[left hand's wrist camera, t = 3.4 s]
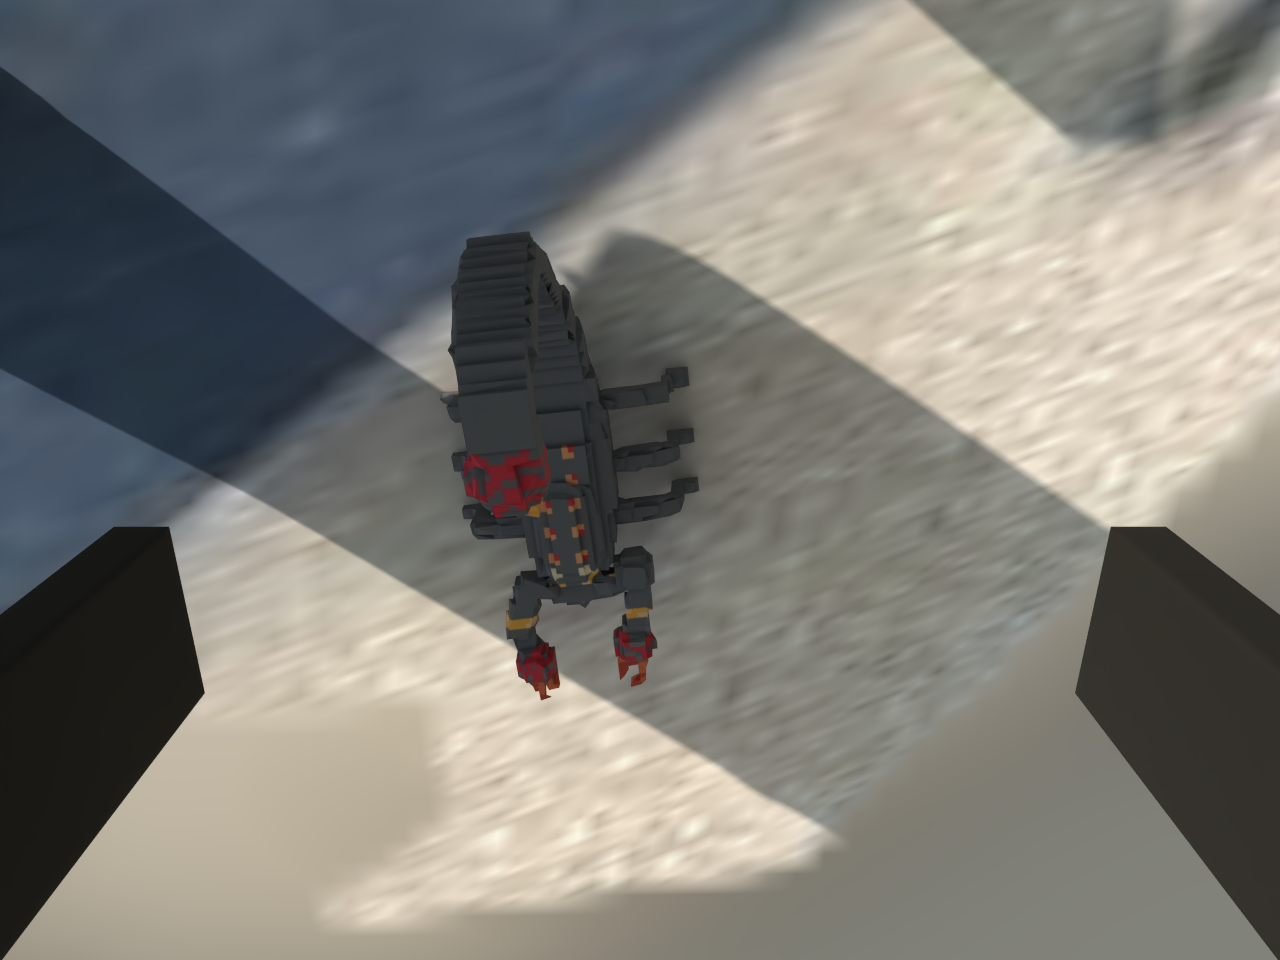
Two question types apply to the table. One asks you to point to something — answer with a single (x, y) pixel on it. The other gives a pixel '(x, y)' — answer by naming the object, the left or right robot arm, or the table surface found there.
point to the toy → (551, 449)
